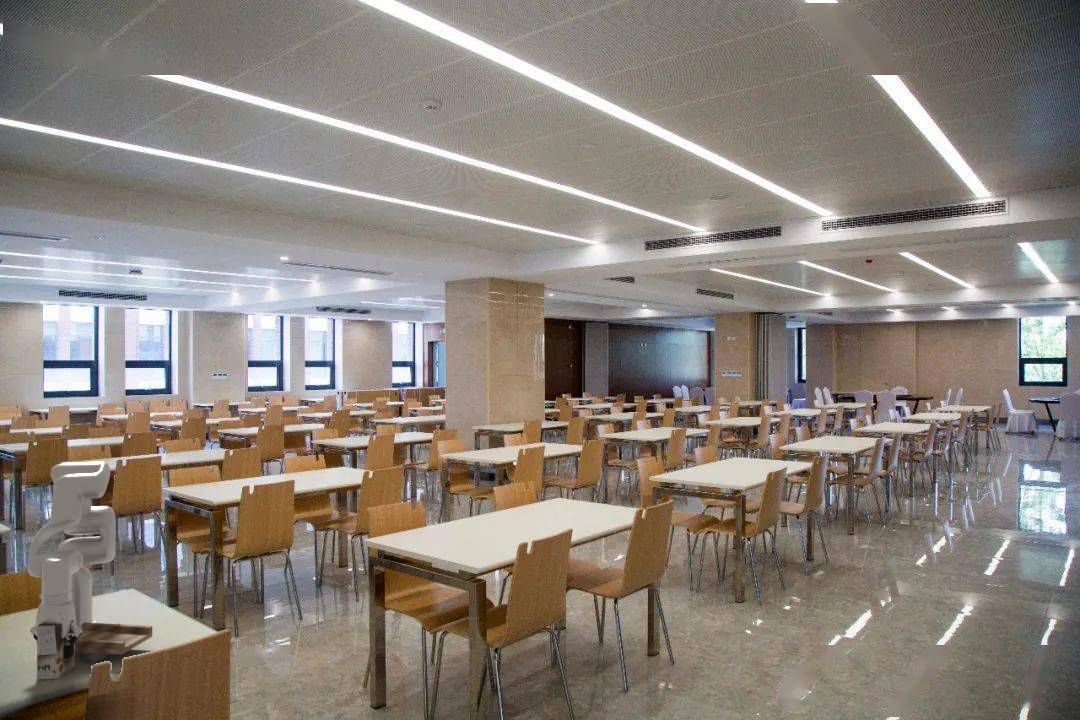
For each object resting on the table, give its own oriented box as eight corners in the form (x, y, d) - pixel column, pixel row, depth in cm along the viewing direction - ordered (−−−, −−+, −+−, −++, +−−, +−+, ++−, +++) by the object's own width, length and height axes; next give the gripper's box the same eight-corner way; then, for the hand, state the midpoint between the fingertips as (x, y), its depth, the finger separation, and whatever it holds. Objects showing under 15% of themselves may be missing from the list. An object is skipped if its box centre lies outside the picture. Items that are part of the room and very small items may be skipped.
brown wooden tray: (50, 661, 234) (50, 638, 234) (85, 643, 249) (85, 621, 249) (121, 665, 231) (122, 642, 231) (152, 647, 246) (152, 625, 246)
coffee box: (58, 679, 221) (59, 625, 221) (36, 680, 221) (36, 625, 221) (75, 666, 230) (75, 614, 230) (53, 667, 230) (53, 615, 230)
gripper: (20, 601, 223) (19, 659, 223) (74, 603, 221) (73, 663, 221) (39, 593, 230) (39, 650, 230) (92, 595, 228) (91, 653, 228)
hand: (56, 656), depth 226 cm, fingers open, 7 cm apart
